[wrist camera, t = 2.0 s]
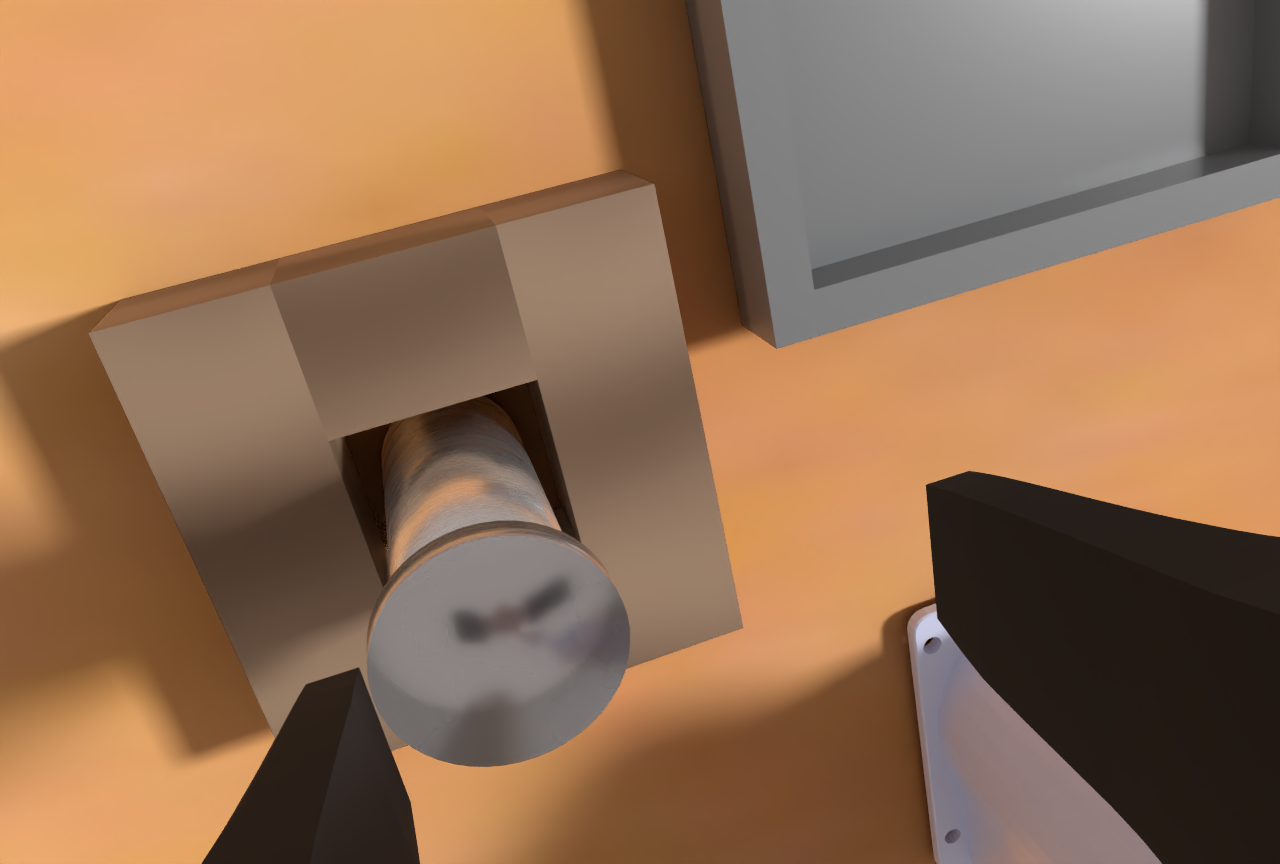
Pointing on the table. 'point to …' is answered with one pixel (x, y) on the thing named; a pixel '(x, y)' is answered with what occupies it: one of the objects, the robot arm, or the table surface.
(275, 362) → the pin block
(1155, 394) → the table surface
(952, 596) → the robot arm
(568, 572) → the pin
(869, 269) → the tray
